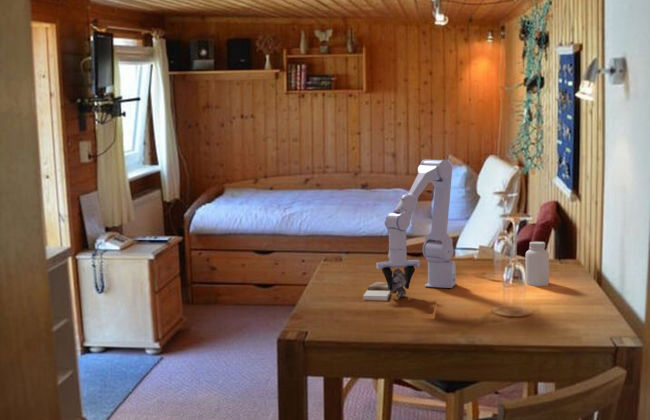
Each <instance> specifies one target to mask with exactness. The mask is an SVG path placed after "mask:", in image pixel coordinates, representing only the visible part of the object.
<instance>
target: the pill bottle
mask: <svg viewBox="0 0 650 420" xmlns="http://www.w3.org/2000/svg"><path fill="white" fill-rule="evenodd" d="M524 264H525V282H526V281H527V284H526V285H528V286H531V287H547V286H549V284H550V253H549V251H547V250H546V242H545V241H530V242H529V249H528V250H527V251H526V252H525V263H524Z"/></svg>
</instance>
